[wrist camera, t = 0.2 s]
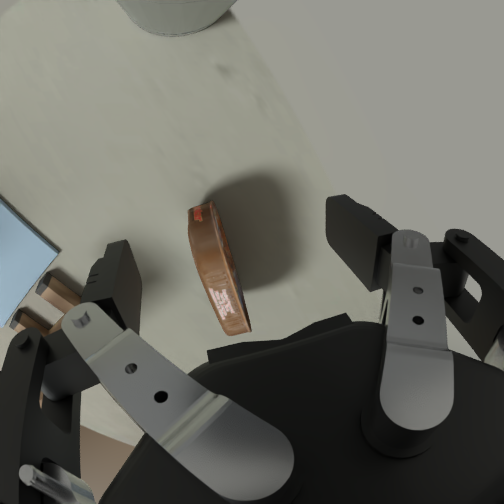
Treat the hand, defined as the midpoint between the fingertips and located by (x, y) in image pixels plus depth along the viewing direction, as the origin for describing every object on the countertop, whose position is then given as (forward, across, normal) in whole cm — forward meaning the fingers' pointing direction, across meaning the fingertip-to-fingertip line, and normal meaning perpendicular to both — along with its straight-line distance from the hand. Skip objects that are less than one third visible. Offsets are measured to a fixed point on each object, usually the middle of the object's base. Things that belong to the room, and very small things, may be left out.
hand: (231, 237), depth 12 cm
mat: (+18, +28, +6) cm, 34 cm away
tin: (+19, 0, +12) cm, 22 cm away
